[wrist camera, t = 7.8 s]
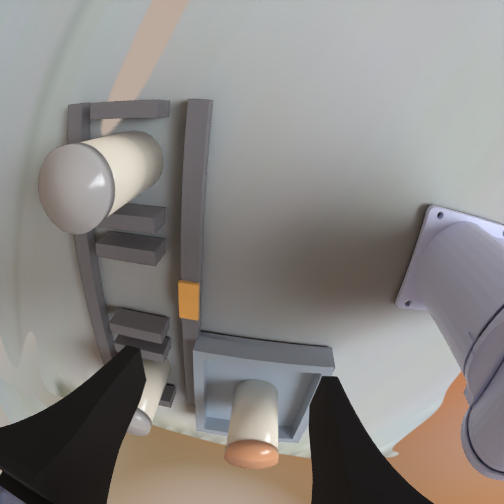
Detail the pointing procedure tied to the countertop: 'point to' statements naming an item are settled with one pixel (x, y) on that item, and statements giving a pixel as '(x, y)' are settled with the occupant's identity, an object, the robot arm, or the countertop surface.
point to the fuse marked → (253, 426)
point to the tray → (256, 368)
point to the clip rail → (148, 241)
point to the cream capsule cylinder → (97, 178)
